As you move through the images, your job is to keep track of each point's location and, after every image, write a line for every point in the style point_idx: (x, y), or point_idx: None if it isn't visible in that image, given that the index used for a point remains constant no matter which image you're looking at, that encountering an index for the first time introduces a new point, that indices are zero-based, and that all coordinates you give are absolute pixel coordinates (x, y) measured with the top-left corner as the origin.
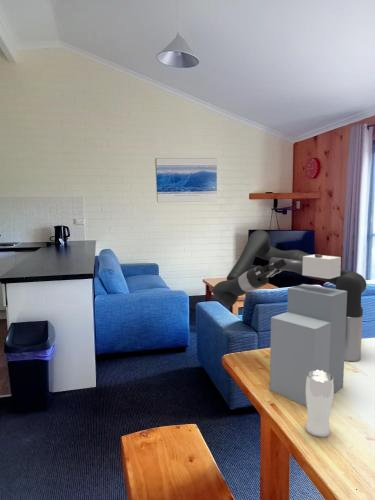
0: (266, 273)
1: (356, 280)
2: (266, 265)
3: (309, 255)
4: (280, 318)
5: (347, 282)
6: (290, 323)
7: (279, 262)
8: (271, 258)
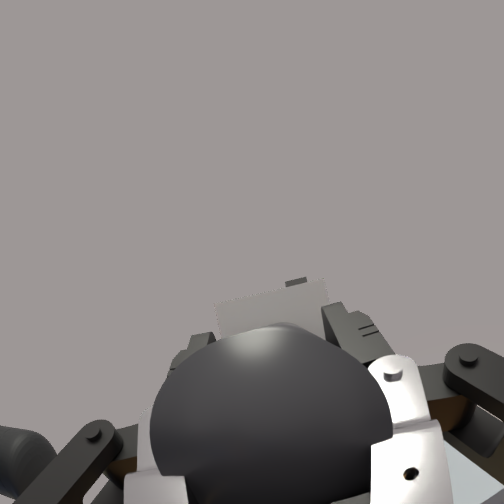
0: (487, 464)
1: (46, 440)
2: (493, 355)
3: (267, 292)
4: (480, 480)
5: (42, 456)
6: (467, 458)
7: (370, 328)
8: (310, 336)
